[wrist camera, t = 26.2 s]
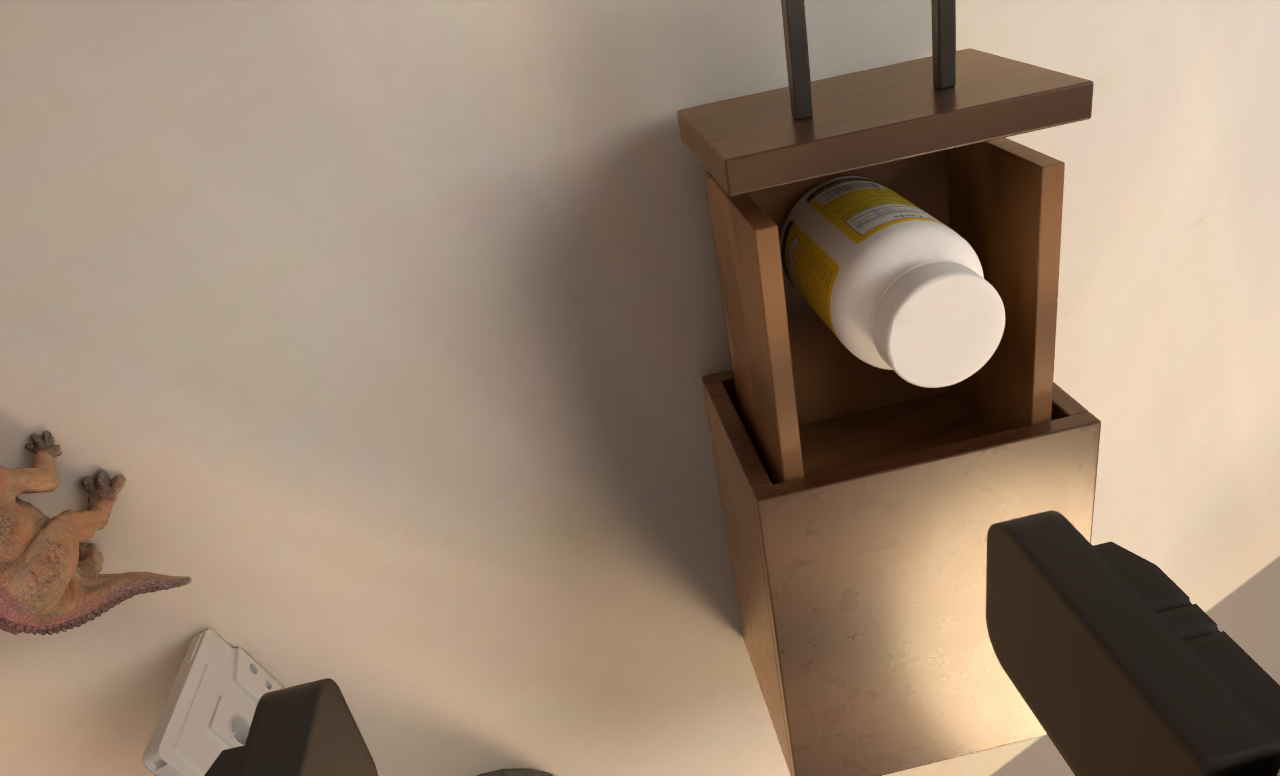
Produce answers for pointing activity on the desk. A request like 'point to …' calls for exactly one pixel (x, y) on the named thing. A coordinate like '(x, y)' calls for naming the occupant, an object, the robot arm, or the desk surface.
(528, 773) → the olive tall carved piece
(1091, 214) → the desk surface
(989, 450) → the cabinet
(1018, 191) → the drawer
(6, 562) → the dinosaur figurine
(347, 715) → the robot arm
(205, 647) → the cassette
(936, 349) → the supplement bottle
